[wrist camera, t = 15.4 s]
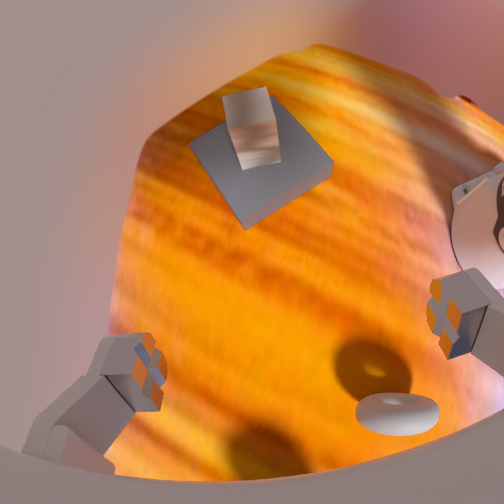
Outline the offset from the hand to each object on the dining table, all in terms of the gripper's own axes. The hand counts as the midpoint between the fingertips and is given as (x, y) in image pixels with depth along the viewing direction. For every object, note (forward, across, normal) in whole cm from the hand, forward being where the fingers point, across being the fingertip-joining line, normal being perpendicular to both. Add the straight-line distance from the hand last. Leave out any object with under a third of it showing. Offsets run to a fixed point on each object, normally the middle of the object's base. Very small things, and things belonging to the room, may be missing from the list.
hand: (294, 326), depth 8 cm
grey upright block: (+35, 0, +3) cm, 35 cm away
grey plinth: (+38, 0, +6) cm, 38 cm away
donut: (+13, -10, +30) cm, 34 cm away
